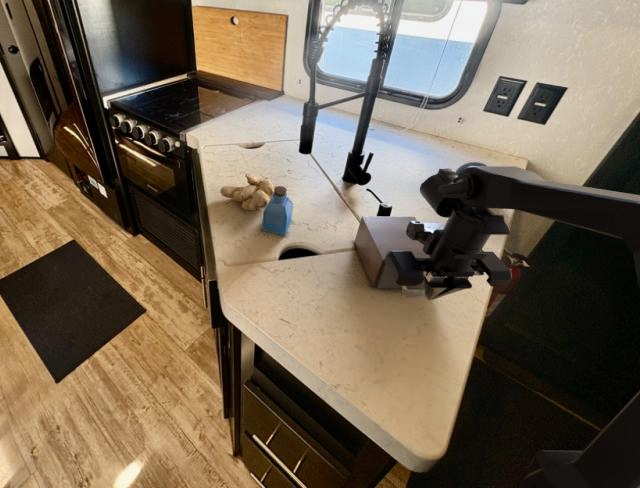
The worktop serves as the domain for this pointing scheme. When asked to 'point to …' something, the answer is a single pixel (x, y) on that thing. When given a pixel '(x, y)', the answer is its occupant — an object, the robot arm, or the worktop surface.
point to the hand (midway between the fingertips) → (428, 297)
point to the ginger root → (251, 193)
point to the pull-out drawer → (388, 282)
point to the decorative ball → (461, 168)
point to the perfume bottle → (278, 212)
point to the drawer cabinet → (384, 242)
